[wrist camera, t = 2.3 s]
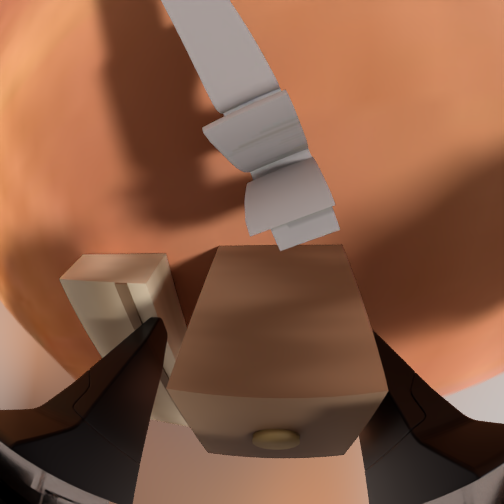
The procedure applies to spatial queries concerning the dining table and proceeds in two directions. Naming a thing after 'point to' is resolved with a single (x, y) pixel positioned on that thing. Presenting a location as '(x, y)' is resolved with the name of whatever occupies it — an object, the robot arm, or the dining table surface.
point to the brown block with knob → (278, 355)
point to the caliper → (255, 124)
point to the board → (128, 309)
